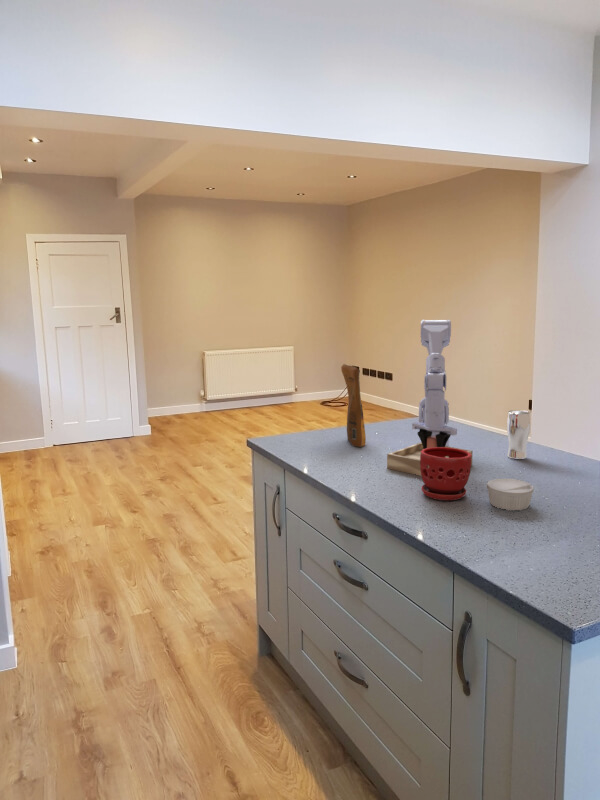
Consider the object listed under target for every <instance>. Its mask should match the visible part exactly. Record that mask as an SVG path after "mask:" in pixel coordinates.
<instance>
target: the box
mask: <svg viewBox="0 0 600 800" xmlns="http://www.w3.org/2000/svg"><path fill="white" fill-rule="evenodd" d="M445 447H447V448H455V449H461V450H464V451H467V452H469V453H471V455H472V456H473V450H470V449H465V448H459V447H455V446H454V447H453V446H449V447H448V446H445ZM422 450H423V445H422V442H421V441H420V442H417V443H415V444H412V445H409V446H407V447H406V446H405V447H404V448H401V449H397V450H395V451H392V452H390V453H387V454H386V469H388V470H394V471H398V472H402V473H407V474H412V475H415V474H416V476H420V477H422V476H421V470H420V454H421V451H422ZM445 458H449V456H446V457H445ZM472 465H473V459H472V460H471V466H472ZM428 468H429V465H428Z"/></svg>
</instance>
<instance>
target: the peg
mask: <svg viewBox="0 0 600 800" xmlns="http://www.w3.org/2000/svg"><path fill="white" fill-rule="evenodd" d="M433 447H437V440H436V436H430V437H427V448H433Z"/></svg>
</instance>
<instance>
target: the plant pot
mask: <svg viewBox="0 0 600 800" xmlns="http://www.w3.org/2000/svg"><path fill="white" fill-rule="evenodd" d="M455 448H456V447H454V448H447V447H433V448H426V449H423V450H422V451H421V454H420V470H421V476H420V477H421V479H422V482H423V483H424V484H423V485H422V486H421V491H422V493H423V494H424V495H425V496H426V497H428V498H431V499H434V500H436V501H456V500H459V499H462V498H463V497H464V496H466V494H467V489H466V488H465V486H466V485H467V483H468V481H469V478H470V475H471V468H472V465H471V460H472V461H473V454H472V455H471V453H469V452H467V451H464V450H461V449H462V448H459V449H455ZM446 456H449V458H445V457H446ZM428 465H429V468H428Z"/></svg>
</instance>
